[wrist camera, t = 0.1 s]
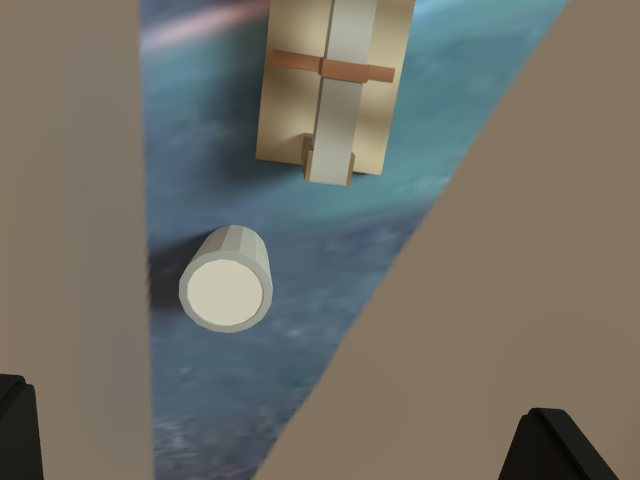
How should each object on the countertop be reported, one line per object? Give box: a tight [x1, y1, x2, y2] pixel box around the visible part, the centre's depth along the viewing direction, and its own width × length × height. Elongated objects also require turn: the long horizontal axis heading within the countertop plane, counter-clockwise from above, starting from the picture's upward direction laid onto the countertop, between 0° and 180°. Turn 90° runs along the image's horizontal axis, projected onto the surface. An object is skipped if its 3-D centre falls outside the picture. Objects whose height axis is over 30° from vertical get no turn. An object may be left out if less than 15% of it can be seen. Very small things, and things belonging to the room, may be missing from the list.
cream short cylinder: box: [179, 225, 273, 333], centre depth 38 cm, size 7×7×7 cm
